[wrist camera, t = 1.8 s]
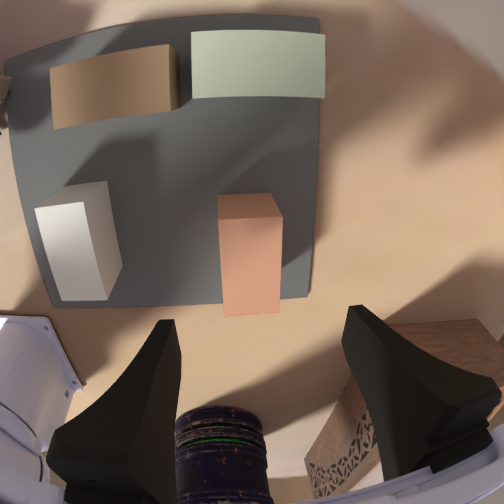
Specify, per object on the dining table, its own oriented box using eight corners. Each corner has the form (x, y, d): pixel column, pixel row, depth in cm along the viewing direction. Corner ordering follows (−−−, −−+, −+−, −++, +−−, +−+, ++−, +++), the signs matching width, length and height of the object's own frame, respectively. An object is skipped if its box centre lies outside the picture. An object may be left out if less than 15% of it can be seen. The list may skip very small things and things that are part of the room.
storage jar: (261, 445, 34) (278, 552, 21) (181, 448, 33) (182, 556, 20) (263, 401, 30) (287, 540, 16) (165, 405, 29) (159, 543, 15)
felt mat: (306, 294, 24) (307, 297, 23) (54, 305, 22) (53, 307, 22) (317, 19, 15) (319, 19, 15) (7, 61, 13) (5, 61, 13)
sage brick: (303, 45, 15) (324, 34, 12) (303, 97, 17) (325, 98, 13) (196, 45, 15) (191, 31, 11) (198, 98, 16) (192, 98, 13)
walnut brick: (179, 54, 15) (168, 44, 11) (180, 107, 16) (170, 111, 13) (80, 71, 14) (50, 68, 11) (84, 121, 16) (53, 130, 12)
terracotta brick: (269, 276, 22) (279, 312, 19) (222, 279, 22) (224, 316, 18) (270, 192, 19) (282, 216, 16) (217, 195, 19) (217, 219, 16)
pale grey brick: (122, 265, 21) (107, 300, 17) (82, 267, 20) (62, 300, 17) (107, 180, 18) (83, 201, 14) (63, 186, 18) (34, 208, 14)
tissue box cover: (374, 323, 26) (423, 410, 18) (476, 317, 29) (525, 377, 20) (303, 457, 38) (317, 516, 29) (388, 443, 40) (408, 493, 31)
